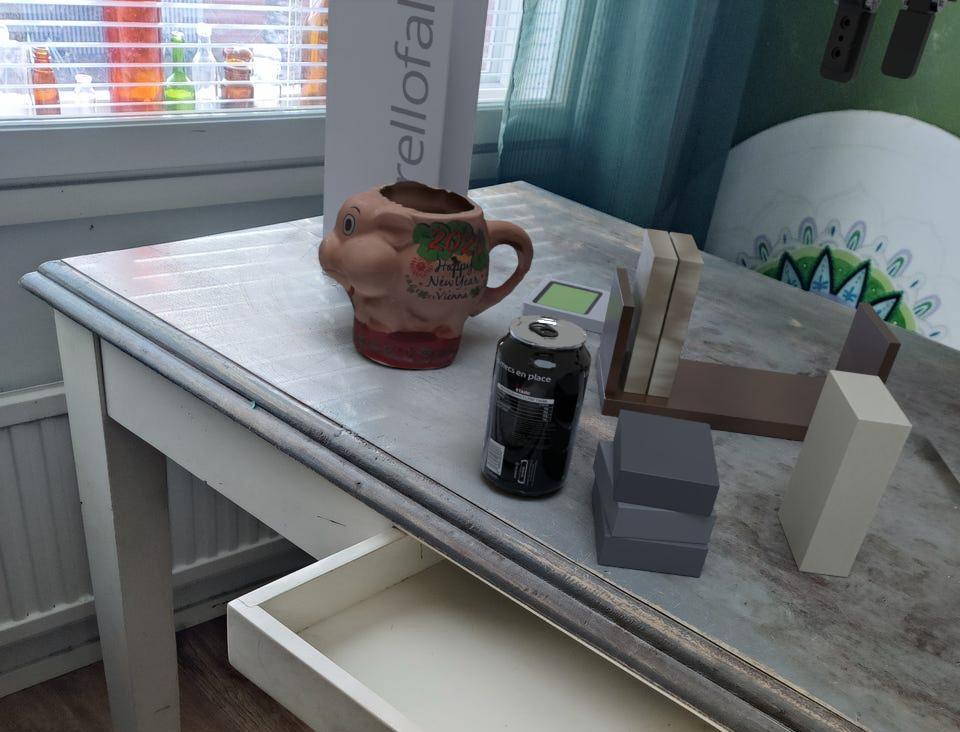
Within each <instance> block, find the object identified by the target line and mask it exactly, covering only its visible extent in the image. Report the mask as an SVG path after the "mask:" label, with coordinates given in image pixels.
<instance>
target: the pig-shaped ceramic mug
mask: <svg viewBox="0 0 960 732" xmlns="http://www.w3.org/2000/svg"><path fill="white" fill-rule="evenodd" d="M503 245H506V246H509V247H511V248H512V249H513V250H514V252H515V253H516V257H517V266H516V269H514V270H515V271H514V272H513V273H512V274H511V275H510V276H509V277H508V278H507V279H506V280H505V281H504V282H503V283H502V284H501V285H499V286H496V287H492V286H491V287H490V286H488V283H489V274H490V262H491V261H490V253H491V251H492V250H493V249H495V247H497V246H503ZM317 252H318V254H317V255H318V256H317V258H318V262H319V266H320V267H321V270H322V269H323V270H324V271H325V272H326V273H327V274H328V275H329V277H330V278H331V279H332V280H334V281H335V282H336V283H337V284H339V285H340V286H341V287H342V288H343V289H344V291H345V292H346V294H347V296H348V298H349V301H350V303H351V307H352V309H353V322H352V323H353V325H352V342H353V344H354V347H355V348H356V349H357V350H358V351H359V352H360V353H361V354H363V355H364V356H365V357H367V358H369V359H371V360H372V361H374V362H376V363H379V364H382V365H385V366H388V367H393V368H401V369H412V370H413V369H414V370H430V369H439V368H442V367H444V366H445V367H446V366H447V365H449V364H451V363H452V362H453V361H454V359H455V358H456V357H457V354H458V352H459V350H460V345H461V341H462V338H463V337H462V336H463V331H464V326H465V324H466V322H467V320H468V318H469V317H470V318H475V317H477V316H479V315H480V314H482V313H484V312H486V311H487V310H489V309H491V308H492V307H494V306H496V305H498V304H499V303H501V302H502V301H503V300H504V299H505V298H507V297H508V296H509V295H511V293H513V291H514V290H515V289H516V288H517V286H519V284H520V283H522V281H524V278H525V276H526V274H528V272H530V270H531V267H532V264H533V263H532V262H533V259H534V254H535V253H534V246H533V241H532V239H531V237H530V235H529V234H528V233H527V231H526V230H525V229H523V228H522V227H521V226H519V225H517V224H516V223H513V222H510V221H507V220H500V219H499V220H496V219H495V220H490V219H486V218H485V214H484V210H483V208H482V206H481V205H480V204H478V203H476V202H475V201H474V200H473V199H472V198H470V197H469V196H464V195H460V194H457V193H454V192H452V191H450V190H446V189H442V188H437V187H432V186H428V185H425V184H421V183H418V182H416V181H402V182H396V183H390V184H385V185H379V186H375V187H373V188H371V189H370V190H368V191H365V192H361V193H358V194H355V195H353V196H351V197H349V198H348V199H347V200H346V201H345V202H344V204H343V205H342V207H341V209H340V210H339V212H338V215H337V219H336V224H335V227H334V228H333V230H332V231H331V232H330V233H329V234H328V235H327V236H326V237H325V238H324V239H323V238H322V240H321V241H320V243H319V246H318V251H317ZM328 275H327V276H328Z"/></svg>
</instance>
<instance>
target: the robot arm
mask: <svg viewBox="0 0 960 732" xmlns="http://www.w3.org/2000/svg"><path fill="white" fill-rule="evenodd" d="M833 1H834V2H833V3H834V4H835V5H838V6H837V9H836V13H835V15H834V19H833V23H832V26H831V29H830V33H829V36H828V40H827V44H826V47H825V50H824V53H823V57H822V60H821V64H820V68H819V74H820V76H821V77H822V78H823V79H825V80H830V81H833V82H837V83H842V84H847V83H848V84H849V83H852V82H854V81H855V80H856V79H857V78H858V76H859V73H860V69H861V66H862V62H863V59H864V56H865V54H866V50H867V47H868V44H869V40H870V37H871V34H872V30H873V27H874V24H875V21H876V17H877V14H878V13H877V12H876V11H877V10H878V9H879V7H880V5H881V3H882V2H883V0H833ZM957 1H958V0H902V5H903V7H906V8H899V10H898V12H897V13H898V14H897V16H896V19H895V23H894V26H893V29H892V31H891V35H890V38H889V41H888V44H887V47H886V50H885V53H884V56H883V59H882V62H881V66H880V71H881V73H882V74H883V75H884V76H888V77H891V78H896V79H900V80H910V79H913V78H914V77H915V76H916V74H917V72H918V69H919V66H920V63H921V60H922V58H923V54H924V51H925V49H926V45H927V43H928V40H929V37H930V34H931V31H932V28H933V25H934V22H935V20H936V17H937V15H936V14H937V13H938V14H941V13H942V12H943V11H944V10H945V7H946V6H947V3H948V2H951V3H956V2H957Z"/></svg>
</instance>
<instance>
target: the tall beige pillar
mask: <svg viewBox="0 0 960 732" xmlns="http://www.w3.org/2000/svg"><path fill="white" fill-rule="evenodd" d="M825 379H826V381H825V384H824V386H823V389H822V392H821V395H820V398H819V400H818V403H817V406H816V409H815V411H814V414H813V417H812V420H811V423H810V425H809V428H808V431H807V434H806V436H805V439H804V441H802V445H801V448H800V450H799V453H798V456H797V459H796V461H795V463H794V464H795V465H794V466H793V467H794V468H793V469H792V473H791V475H790V478H789V481H788V484H787V486H786V490H785V493H784V495H783V498H782V500H781V503H780V506H779V509H778V511H777V517H778V519H779V522H780V525H781V527H782V530H783V533H784V535H785V539H786V540H787V544H788V546H789V548H790V551H791V554H792V556H793V560H794V562H795V564H796V567H797V570H798V572H801V573H802V572H803V573H810V574H818V575H826V576H833V577H842V578H848V577H849V574H850V572H851V570H852V568H853V566H854V563H855V560H856V558H857V556H858V553H859V551H860V549H861V547H862V544H863V543H864V540H865V537H866V535H867V533H868V530H869V529H870V526H871V524H872V522H873V519H874V517H875V514H876V512H877V509H878V507H879V505H880V503H881V500H882V498H883V495H884V493H885V491H886V489H887V486H888V484H889V482H890V480H891V477H892V474H893V473H894V470H895V468H896V465H897V463H898V461H899V458H900V456H901V453H902V452H903V450H904V448H905V447H904V446H905V444H906V442H907V440H908V438H909V435H910V433H911V431H912V428H913V424H912V423H911V422H910V421H909V419H908V417H907V416H906V414H905V413H904V411H903V409H902V408H901V407H900V405H899V404H898V403H897V401H896V400H895V398H894V397H893V395H892V394H891V393H890V391H889V389H888V388H887V387H886V384H885V385H884V384H883V382H882V381H881V379H880V378H879V377H878V376H872V375H864V374H857V373H850V372H843V371H835V369H829V370H828V372H827V376H826V378H825Z"/></svg>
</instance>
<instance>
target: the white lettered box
mask: <svg viewBox="0 0 960 732" xmlns="http://www.w3.org/2000/svg"><path fill="white" fill-rule="evenodd" d="M489 2H490V0H327V39H326V41H327V43H326V45H327V46H326V47H327V48H326V82H325V83H326V86H325V87H326V88H325V130H324V131H325V133H324V171H323V175H324V176H323V213H322V214H323V215H322V240H323V239H324V238H325V237H326V236H327V235H328V234H329V233H330V232H331V231H332V230H333V228H334V227H335V224H336V219H337V215H338V212H339V210H340V209H341V207H342V205H343V204H344V202H345V201H346V200H347V199H348V198H349V197H351V196H353V195H355V194H358V193H361V192H365V191H368V190H370V189H371V188H373V187H375V186H379V185H385V184H390V183H396V182H402V181H416V182H418V183H421V184H425V185H428V186H432V187H437V188H442V189H446V190H450V191H452V192H454V193H457V194H460V195H464V196H467V197H469V186H470V178H471V177H470V176H471V168H472V158H473V148H474V142H475V141H474V139H475V132H476V131H475V129H476V122H477V112H478V105H479V104H478V103H479V95H480V94H479V93H480V84H481V76H482V67H483V57H484V49H485V48H484V47H485V38H486V30H487V29H486V28H487V21H488V12H489ZM323 273H325V274H324V275H326V274H327V273H326V272H325V271H324V270H323V269H322V268H321V274H323ZM326 276H328V274H327V275H326Z"/></svg>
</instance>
